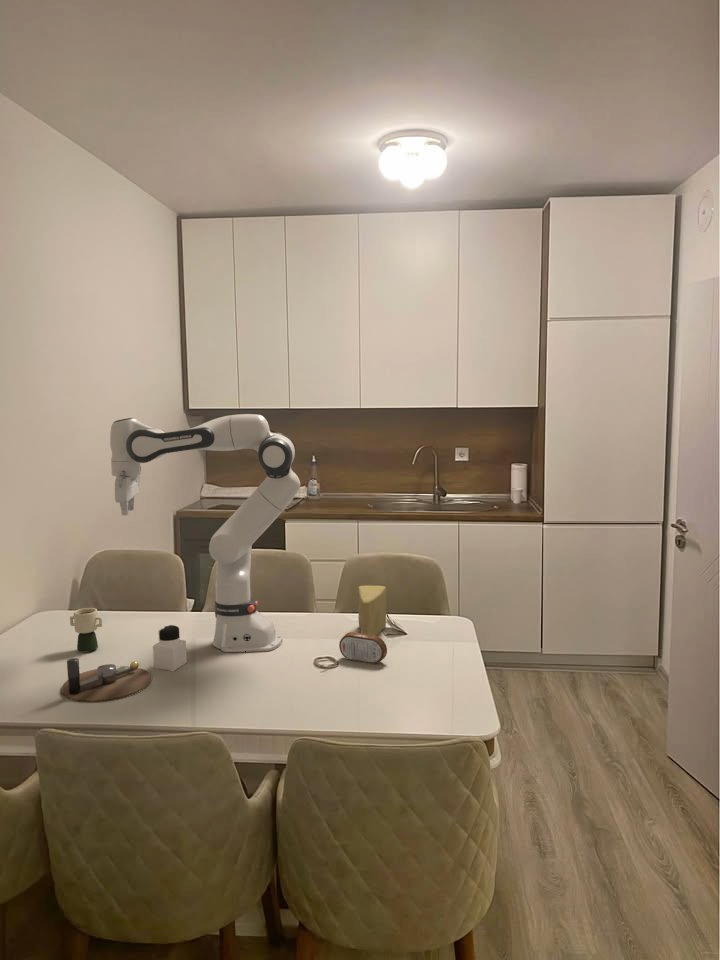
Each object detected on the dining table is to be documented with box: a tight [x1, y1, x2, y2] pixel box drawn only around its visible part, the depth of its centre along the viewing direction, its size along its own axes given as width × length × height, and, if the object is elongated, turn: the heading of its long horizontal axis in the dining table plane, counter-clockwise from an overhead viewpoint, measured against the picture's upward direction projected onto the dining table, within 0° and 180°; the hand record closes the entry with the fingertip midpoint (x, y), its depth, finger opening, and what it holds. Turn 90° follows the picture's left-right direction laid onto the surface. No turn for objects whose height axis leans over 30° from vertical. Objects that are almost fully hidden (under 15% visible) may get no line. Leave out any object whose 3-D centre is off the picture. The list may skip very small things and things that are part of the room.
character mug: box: [69, 607, 103, 653], centre depth 239 cm, size 11×7×13 cm, turn 81°
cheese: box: [357, 585, 387, 636], centre depth 248 cm, size 22×10×15 cm, turn 173°
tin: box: [339, 631, 388, 665], centre depth 226 cm, size 15×3×8 cm, turn 65°
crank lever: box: [66, 657, 140, 694], centre depth 210 cm, size 5×22×9 cm, turn 147°
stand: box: [61, 665, 153, 703], centre depth 211 cm, size 24×24×1 cm
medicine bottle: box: [152, 624, 187, 672], centre depth 224 cm, size 7×7×12 cm
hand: (128, 512), depth 238 cm, fingers open, 8 cm apart
